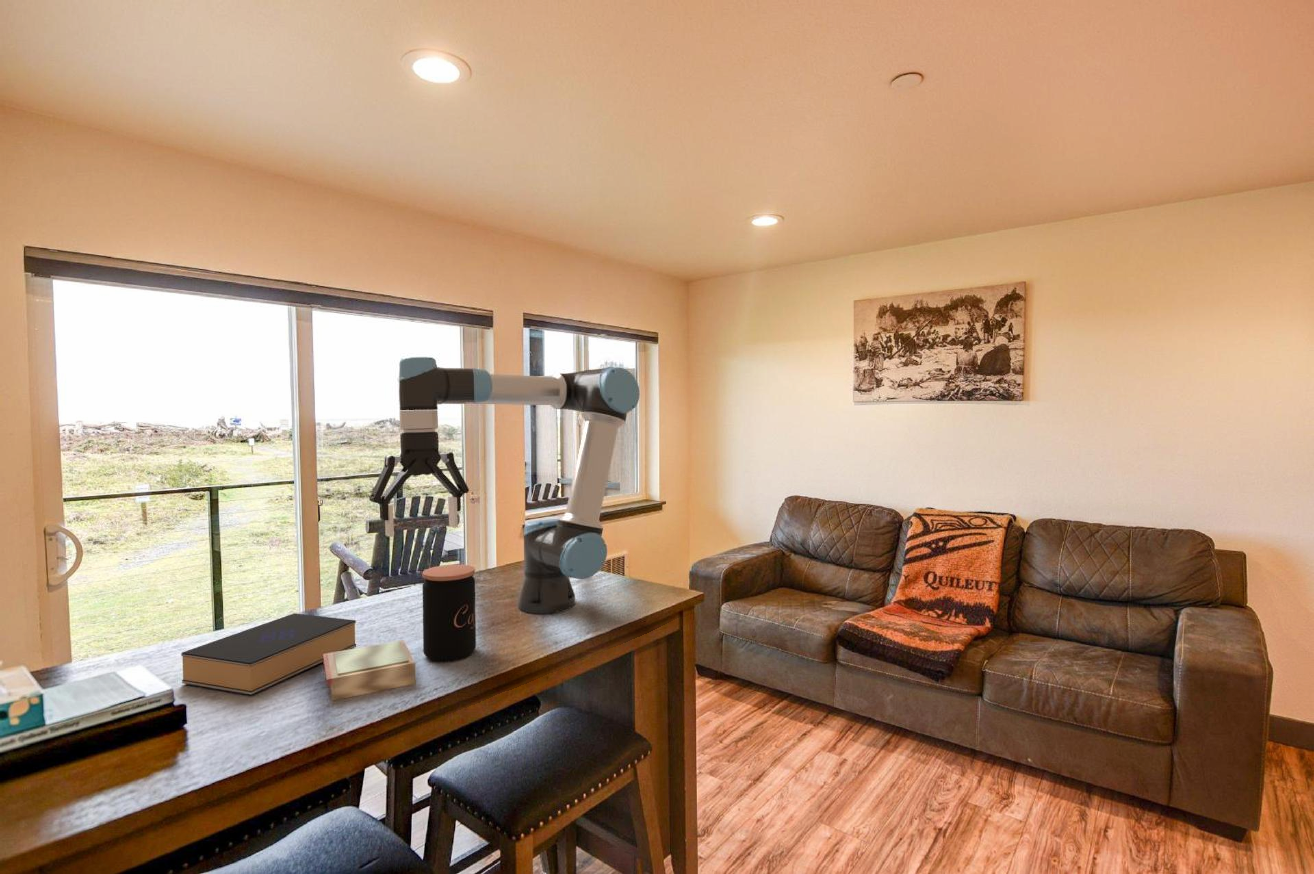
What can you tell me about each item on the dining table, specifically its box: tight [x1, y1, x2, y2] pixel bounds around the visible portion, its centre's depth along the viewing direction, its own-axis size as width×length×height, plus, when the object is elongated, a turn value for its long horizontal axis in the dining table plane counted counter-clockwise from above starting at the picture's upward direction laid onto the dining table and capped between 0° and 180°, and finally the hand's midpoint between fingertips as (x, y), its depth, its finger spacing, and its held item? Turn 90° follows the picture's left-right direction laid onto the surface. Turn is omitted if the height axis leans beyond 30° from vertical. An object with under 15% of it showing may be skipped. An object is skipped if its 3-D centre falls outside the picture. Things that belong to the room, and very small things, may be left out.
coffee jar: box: [421, 564, 477, 663], centre depth 133 cm, size 11×11×18 cm
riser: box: [322, 639, 416, 702], centre depth 120 cm, size 15×14×4 cm
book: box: [180, 612, 357, 696], centre depth 127 cm, size 17×25×7 cm
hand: (422, 531), depth 132 cm, fingers open, 13 cm apart
